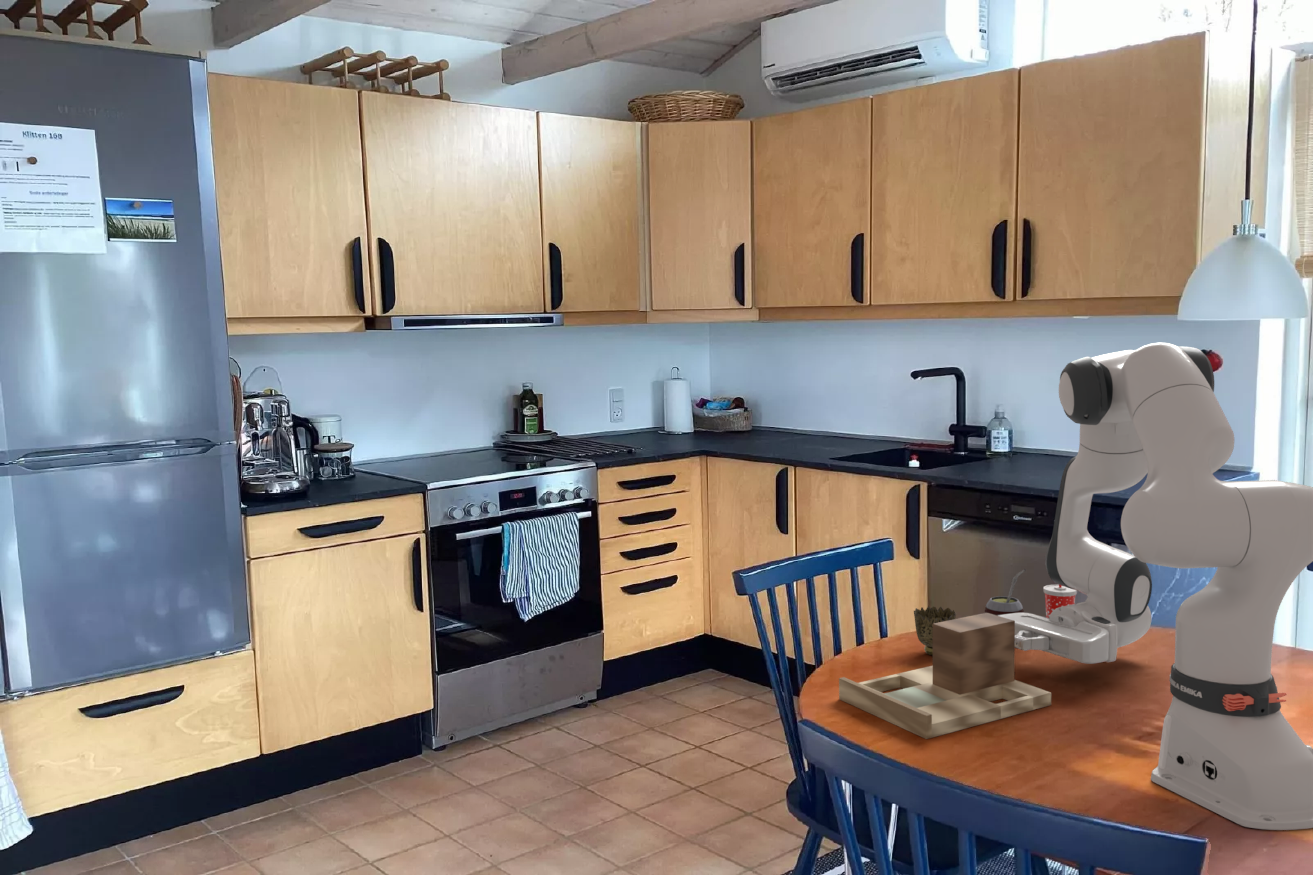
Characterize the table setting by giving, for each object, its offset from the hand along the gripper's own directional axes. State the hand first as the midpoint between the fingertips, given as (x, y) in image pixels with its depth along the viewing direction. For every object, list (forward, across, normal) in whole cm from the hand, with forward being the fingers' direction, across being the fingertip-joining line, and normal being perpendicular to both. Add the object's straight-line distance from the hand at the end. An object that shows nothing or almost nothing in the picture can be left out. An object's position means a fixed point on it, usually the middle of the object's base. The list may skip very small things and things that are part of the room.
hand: (1016, 643), depth 176 cm
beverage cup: (-29, -16, +7) cm, 34 cm away
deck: (+16, 0, +7) cm, 18 cm away
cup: (-1, -20, +7) cm, 21 cm away
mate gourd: (-17, -18, +7) cm, 26 cm away
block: (+10, 0, +5) cm, 11 cm away
